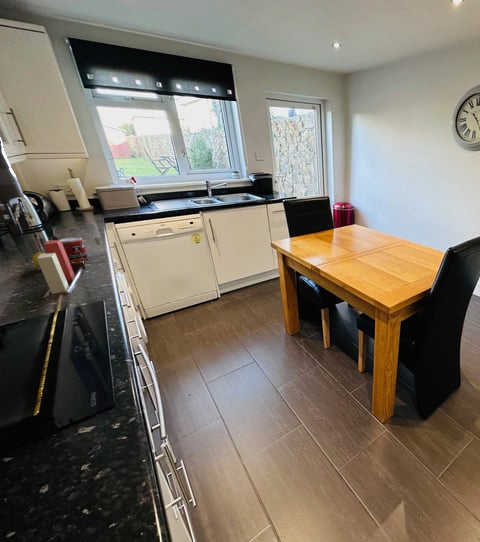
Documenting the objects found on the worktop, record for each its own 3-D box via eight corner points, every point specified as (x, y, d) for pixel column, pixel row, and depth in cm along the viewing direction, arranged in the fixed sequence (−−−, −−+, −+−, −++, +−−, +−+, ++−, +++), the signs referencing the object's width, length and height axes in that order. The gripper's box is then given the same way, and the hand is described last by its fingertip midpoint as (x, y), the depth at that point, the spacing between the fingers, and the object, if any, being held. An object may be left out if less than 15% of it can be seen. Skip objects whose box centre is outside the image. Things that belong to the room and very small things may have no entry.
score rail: (43, 301, 101) (38, 290, 99) (62, 273, 123) (58, 264, 122) (73, 295, 105) (69, 285, 104) (86, 269, 128) (83, 261, 126)
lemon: (49, 270, 125) (42, 254, 122) (33, 271, 124) (25, 254, 121) (57, 266, 130) (50, 250, 127) (42, 267, 129) (35, 250, 126)
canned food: (70, 264, 133) (61, 242, 128) (65, 261, 137) (56, 239, 132) (91, 260, 139) (84, 238, 134) (86, 256, 143) (78, 235, 138)
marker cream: (52, 294, 103) (36, 258, 98) (55, 289, 107) (40, 254, 102) (66, 291, 105) (51, 256, 100) (69, 286, 109) (55, 252, 104)
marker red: (59, 282, 112) (43, 244, 106) (62, 278, 116) (47, 241, 110) (72, 280, 114) (57, 242, 108) (75, 276, 118) (60, 239, 112)
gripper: (-8, 181, 94) (13, 228, 101) (-28, 185, 84) (-3, 237, 90) (25, 180, 98) (43, 226, 105) (10, 184, 88) (31, 234, 94)
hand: (22, 231), depth 97 cm, fingers open, 8 cm apart
